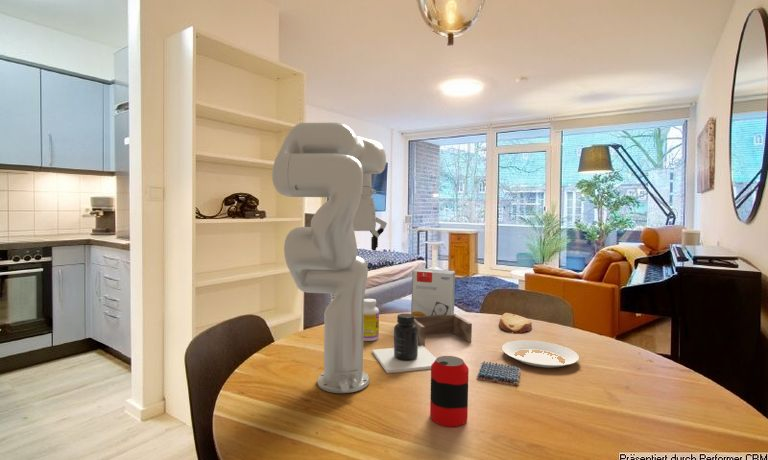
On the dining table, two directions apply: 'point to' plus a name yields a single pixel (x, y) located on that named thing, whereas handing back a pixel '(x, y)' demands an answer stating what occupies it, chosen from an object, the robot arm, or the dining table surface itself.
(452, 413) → the soda can
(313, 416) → the dining table surface
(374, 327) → the supplement bottle
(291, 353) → the dining table surface
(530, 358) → the plate
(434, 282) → the hard drive box
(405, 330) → the supplement bottle
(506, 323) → the slice of bread
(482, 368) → the woven mat
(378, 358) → the white square board
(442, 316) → the shelf bay
